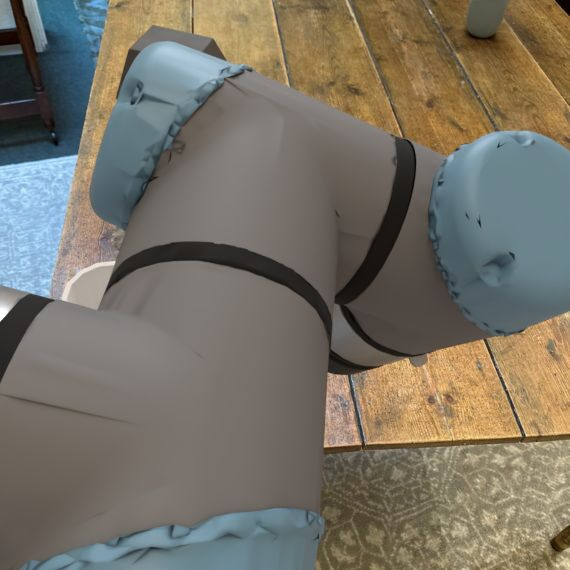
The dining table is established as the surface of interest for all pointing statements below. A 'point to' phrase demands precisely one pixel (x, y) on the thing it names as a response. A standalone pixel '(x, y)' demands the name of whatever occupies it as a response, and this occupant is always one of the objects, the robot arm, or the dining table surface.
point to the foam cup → (89, 285)
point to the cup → (485, 16)
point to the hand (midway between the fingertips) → (260, 356)
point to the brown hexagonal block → (167, 34)
